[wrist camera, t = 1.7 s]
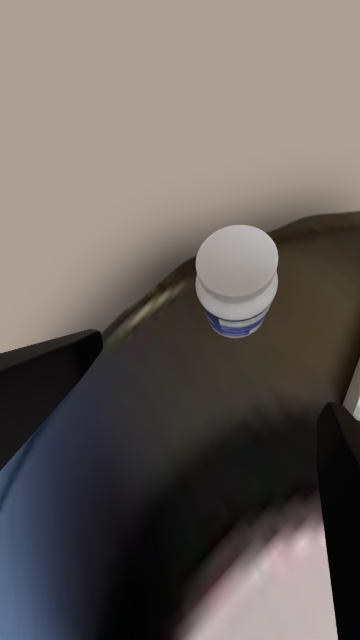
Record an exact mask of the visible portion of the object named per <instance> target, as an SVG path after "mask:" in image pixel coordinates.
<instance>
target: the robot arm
mask: <svg viewBox="0 0 360 640" xmlns="http://www.w3.org/2000/svg"><path fill="white" fill-rule="evenodd" d="M102 349H103V342H102V336H101V333H100V331H98V330H94V329H88V330H85V331H81V332H77V333H74V334H70V335H67V336H63V337H59V338H56V339H52V340H48V341H44V342H41V343H37V344H33V345H30V346H27V347H23V348H19V349H15V350H12V351H8V352H4V353H0V471H1V469H2V468H3V467H4V466H5V465H6V464H7V463H8V461H9V460H10V459H11V458H12V457H13V456H14V455H15V453H16V452H17V451H18V450H19V449H20V448H21V447H22V446H23V444H24V443H25V442H26V441H27V440H28V439H29V438H30V436H31V435H32V434H33V433H34V432H35V431H36V430H37V428H38V427H39V426H40V425H41V424H42V423H43V422H44V420H45V419H46V418H47V417H48V416H49V415H50V414H51V413H52V411H53V410H54V409H55V408H56V407H57V406H58V405H59V403H60V402H61V401H62V400H63V399H64V398H65V397H66V395H67V394H68V393H69V392H70V391H71V390H72V389H73V387H74V386H75V385H76V384H77V383H78V382H79V381H80V379H81V378H82V377H83V376H84V374H85V373H86V372H87V370H88V369H89V368H90V366H91V365H92V363H93V362H94V361H95V359H96V358H97V357H98V355H99V354H100V352H101V351H102ZM317 474H318V483H319V491H320V499H321V507H322V515H323V523H324V531H325V539H326V547H327V555H328V563H329V571H330V579H331V587H332V595H333V603H334V610H335V618H336V626H337V634H338V640H360V423H359V422H358V421H357V420H356V418H355V417H354V416H353V415H352V414H351V413H350V412H349V410H348V409H347V408H346V407H345V406H343V405H340V404H337V403H334V402H328V403H327V404H326V405H325V407H324V408H323V410H322V412H321V413H320V415H319V417H318V419H317Z"/></svg>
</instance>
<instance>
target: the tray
mask: <svg viewBox="0 0 360 640" xmlns="http://www.w3.org/2000/svg"><path fill="white" fill-rule="evenodd" d="M343 406H345V407H346V408H347V409H348V410H349V412H350V413H351V414H352V415H353V416H354V417H355V418H356V419H357V420H359V421H360V358H359V361H358V363H357V366H356V369H355V372H354V374H353V377H352V380H351V383H350V385H349V388H348V391H347V394H346V396H345V399H344V402H343Z"/></svg>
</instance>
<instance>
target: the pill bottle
mask: <svg viewBox="0 0 360 640" xmlns="http://www.w3.org/2000/svg"><path fill="white" fill-rule="evenodd" d="M277 265H278V252H277V248H276V245H275V243H274V242H273V240H272V239H271V238H270V236H268V235H267V234H266V233H265V232H264V231H262V230H260V229H258V228H256V227H253V226H248V225H231V226H227V227H224V228H222V229H219V230H218V231H216V232H214V233H213V234H211V235H210V236H209V237H208V238H207V239H206V240H205V241H204V242H203V244H202V245H201V247H200V248H199V251H198V253H197V257H196V271H197V277H196V292H197V295H198V298H199V301H200V303H201V305H202V308H203V310H204V312H205V315H206V317H207V319H208V322H209V324H210V325H211V327H212V328H213V329H214V330H215V331H216V332H218V333H219V334H221V335H223V336H226V337H230V338H241V337H245V336H248V335H250V334H252V333H253V332H255V331H256V330H257V329H258V328H259V327H260V325H261V324H262V322H263V320H264V318H265V316H266V314H267V312H268V310H269V307H270V305H271V303H272V301H273V299H274V297H275V294H276V291H277V286H278V276H277V271H276V269H277Z"/></svg>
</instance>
